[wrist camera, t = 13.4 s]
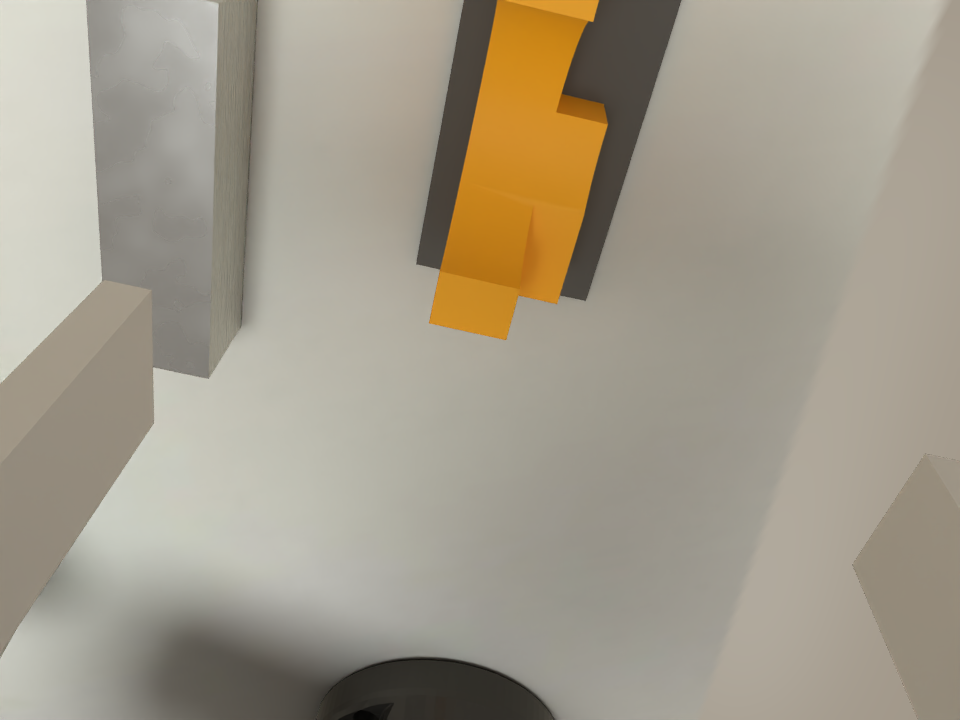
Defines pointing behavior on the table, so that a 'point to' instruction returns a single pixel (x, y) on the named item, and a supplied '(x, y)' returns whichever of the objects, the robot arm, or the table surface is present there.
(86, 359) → the robot arm
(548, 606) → the table surface
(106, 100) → the grey rectangular bar
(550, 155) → the pipe clamp
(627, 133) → the pad
